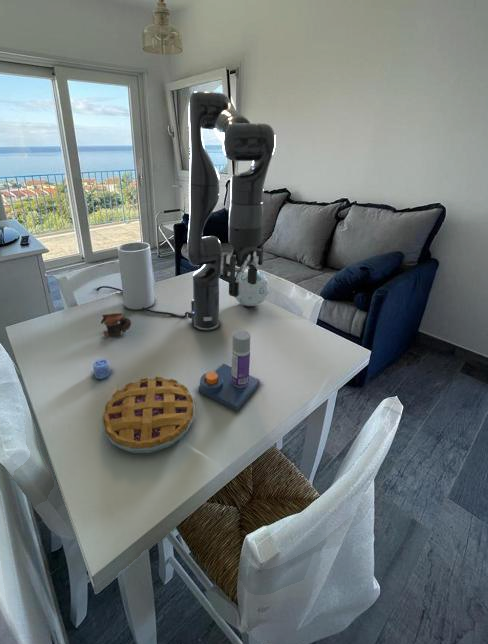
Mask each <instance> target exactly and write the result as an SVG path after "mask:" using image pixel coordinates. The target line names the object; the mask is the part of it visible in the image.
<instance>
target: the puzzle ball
mask: <svg viewBox="0 0 488 644" xmlns="http://www.w3.org/2000/svg"><path fill="white" fill-rule="evenodd" d="M248 269H249V268H246V269H245V271H244V273H243V274H241V276H240V279H239V281H238V282H239V295H238V296H237V297H234V298H235V299H236V301H237V302H238V303H240V304H241V305H243V306H247V307H254V306H259V305H260V304H261V303H263V302H264V301H265V300H266V299H267V296H268V295H269V291H270V284H269V280H268V278H267V276H265V274H264V273H262V272H261V271H259V270H257V283H256V284H254V285H253V284H250V283H248Z"/></svg>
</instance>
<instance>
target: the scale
mask: <svg viewBox="0 0 488 644" xmlns="http://www.w3.org/2000/svg"><path fill="white" fill-rule="evenodd" d="M214 372H215V373H216V374H217V375H218V382H217V383H216V384H214V385H209V384H207V383H206V374H207V373H208V372H206V373H204V374H202V375H201V376H200V379H199V386H198V392H199V393H201V394H203V395H204V396H206V397H209V399H212V400H214V401H216V402H218V403H220V404H221V405H223V406H226V407H227V408H229V409H230V410H232V411H234V412H238V411H239V410H240V409H241V407H242V406H243V405H244V404H245V403H246V401H247V400H248V399H249V398H250V397H251V396H252V394H253V393H254V392H255V390H256V389H257V388H258V387H259V386H260V383H261V382H260V381H261V380H260V379H259V378H257V377H255V376H252V375H250V374H249V383H248V385H247V386H245V387H242V388H239V387H236V386H234V385H233V384H232V382H231V377H232V366H230V365H228V364H225V363H222V364H221V365H220V366H219V367H218V368H217V369H216V370H214Z"/></svg>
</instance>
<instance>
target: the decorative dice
mask: <svg viewBox="0 0 488 644" xmlns="http://www.w3.org/2000/svg"><path fill="white" fill-rule="evenodd" d="M92 366H93V374H94V377H95V378H96V379H97V380H103V379H105V378H108V377H109V376H110V365H109V360H107V359H105V358H100V359H97V360H96V361H95V362H93V364H92Z"/></svg>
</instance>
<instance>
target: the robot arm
mask: <svg viewBox="0 0 488 644" xmlns="http://www.w3.org/2000/svg"><path fill="white" fill-rule="evenodd" d="M188 127H189V129H188V131H189V148H190V149H189V151H190V152H189V153H190V155H189V158H190V159H189V182H188V183H189V184H188V186H189V187H188V189H189V191H188V192H189V193H188V194H189V195H188V196H189V197H188V199H189V217H188V218H189V220H188V231H187V243H186V255H187V260H188V263H189V264H190V265H191V266H193V267H200V266H201V268H199V269H198V270H196V271H195V272H194V273H193V274H192V291H193V292H192V295H193V297H192V298H193V299H192V300H191V302H190V308H191V309H190V310H189V311H185V312H184V315H178V314H175V313H172V312H168V311H159V310H152V309H149V308H142V309H141V310H143V311H146V312H148V313H152V314H153V313H154V314H159V315H160V314H161V315H168V316H173V317H175V318H176V317H177V318H181V319H184V318H188V319H191V325H193V326H194V327H195V329H197V330H199V331H205V332H206V331H213V330H216V329H217V328H218V327H219V326H220V277H221V273H222V281H225V282H228V295H229V296H231V297H234V298H235V297H237V296H238V295H239V282H238V281H239V279H240V276H241V274H243V273H244V271H245V270H246V269H248V283H250V284H253V285H254V284H256V283H257V271H259V269H260V266H262V265H263V263H264V242H263V229H264V228H263V227H264V192H265V191H264V189H265V182H266V177H267V174H268V170H269V167H270V164H271V161H272V158H273V155H274V152H275V148H276V141H277V139H276V138H277V137H276V134H275V131H274V129H273V127H272V126H271V125H270V124H268V123H251V122H250V121H249V119H248V118H246V117H245V116H244V115H243V114H241V113H240V112H238V111H237V110H236V107H235V106H234V104H233V103H232V101H231V100H230V98H229V97H228V96H227V95H226V94H224V93H222V92H214V91H213V92H212V91H193V92H192V93H191V94H190V96H189V101H188ZM203 130H214V132H215V135H216V136H217V138H218V139H219V140H220V141H221V142H222V151H223V154H224V156H225V158H226V159H228V160H229V161H233V162H252V164H251V166H250V168H249V169H247V170H245V171H243V172H239V173H236V174H233V176H232V177H231V178H230V191H229V194H230V196H229V197H230V199H229V201H230V202H229V209H228V237H227V238H228V241H227V242H228V244H229V245H230V246H231V247H232V251H231V254H227V253H225V254H223V249H222V244H221V241H220V240H219V237H217V236H215V235H209V236H203V235H204V234H203V233H204V228H205V227H206V224H207V221H208V220H209V218H210V217H211V215H212V214H213V212H214V210H215V208H216V206H217V204H218V202H219V198H220V185H221V179H220V178H221V177H220V173H219V172H218V169H217V167H216V165H215V164H214V162H213V160H212V159H211V157H210V154H209V153H208V151H207V149H206V146H205V143H204V139H203ZM222 256H223V260H222ZM222 261H223V263H222ZM222 264H223V265H222ZM100 289H111V290H114V291H119V292H121V293H122V294H123V290H122V288H117V287H115V286H108V285H102V286H101V285H100V286H99V287H98V288H96V291H99V290H100Z"/></svg>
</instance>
